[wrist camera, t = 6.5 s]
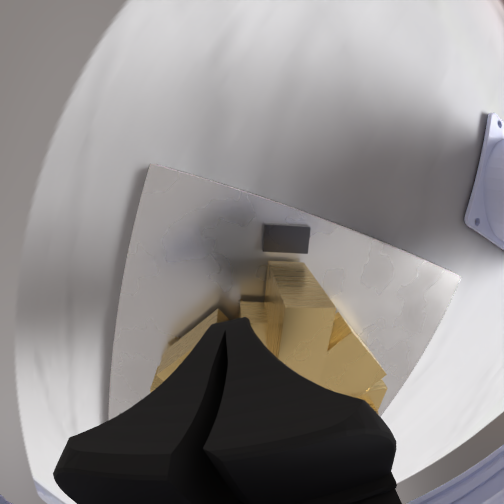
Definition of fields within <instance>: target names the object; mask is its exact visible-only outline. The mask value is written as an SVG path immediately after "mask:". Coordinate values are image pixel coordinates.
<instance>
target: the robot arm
mask: <svg viewBox="0 0 504 504" xmlns="http://www.w3.org/2000/svg"><path fill="white" fill-rule="evenodd" d="M464 219H465V224H466V225H467V226H468V227H470V228H472V229H473V230H475V231H476V232H478V233H479V234H481V235H482V236H484V237H485V238H487V239H488V240H490V241H491V242H493V243H494V244H495V245H497V246H498V247H500V248H501V249H502V250H504V122H503V121H502V120H501V119H500V118H499V117H498V116H497V115H496V114H495V113H489V114H488V119H487V125H486V132H485V137H484V143H483V148H482V153H481V157H480V162H479V166H478V171H477V175H476V179H475V183H474V186H473V190H472V194H471V197H470V201H469V204H468V207H467V210H466V214H465V218H464ZM475 220H476V223H475ZM395 452H396V440H395V438H394V436H393V434H392V432H391V431H390V429H389V428H388V426H387V425H386V424H385V422H384V421H383V420H382V419H381V417H380V416H379V415H378V414H377V413H376V411H375V410H374V409H373V408H372V407H371V406H370V405H369V404H368V403H367V402H366V401H365V400H363V399H359V398H355V397H352V396H348V395H344V394H341V393H337V392H334V391H331V390H329V389H327V388H324V387H322V386H320V385H318V384H316V383H314V382H312V381H310V380H308V379H307V378H305V377H303V376H301V375H299V374H298V373H297V372H295V371H294V370H292V369H291V368H289V367H288V366H287V365H285V364H284V363H283V362H282V361H280V360H279V359H278V358H277V357H276V356H275V355H274V354H273V353H272V352H271V351H270V350H269V349H268V348H267V347H266V346H265V345H264V344H263V343H262V341H261V340H260V339H259V338H258V336H257V335H256V334H255V332H254V330H253V329H252V327H251V324H250V320H249V319H248V318H247V317H242V318H238V319H233V320H229V321H224V322H220V323H215V324H211V325H210V327H209V328H208V329H207V331H206V332H205V333H204V335H203V336H202V338H201V339H200V340H199V342H198V343H197V344H196V346H195V347H194V348H193V350H192V351H191V352H190V353H189V355H188V356H187V357H186V358H185V359H184V360H183V362H182V363H181V364H180V365H179V366H178V367H177V369H176V370H175V371H174V372H173V373H172V374H171V375H170V376H169V377H168V378H167V379H166V380H165V381H164V382H163V383H162V384H160V385H159V386H158V387H157V388H156V389H155V390H154V391H152V392H151V393H150V394H148V395H147V396H146V397H144V398H143V399H142V400H140V401H139V402H138V403H136V404H135V405H134V406H132V407H131V408H129V409H128V410H126V411H124V412H123V413H121V414H119V415H118V416H116V417H114V418H112V419H111V420H109V421H107V422H105V423H103V424H101V425H99V426H97V427H94V428H92V429H90V430H87V431H85V432H83V433H80V434H78V435H75V436H72V437H70V438H69V440H68V442H67V444H66V446H65V448H64V450H63V453H62V455H61V457H60V459H59V461H58V463H57V466H56V468H55V470H54V472H53V475H54V479H55V481H56V483H57V484H58V486H59V487H60V489H61V490H62V491H63V492H64V493H65V494H66V495H67V496H69V497H70V498H71V499H72V500H73V501H75V502H76V503H77V504H402V503H401V501H400V499H399V496H398V494H397V492H396V490H395V488H396V486H397V485H396V481H395V479H394V477H393V475H392V472H391V469H392V465H393V461H394V457H395ZM0 504H12V503H10V502H8V501H6V499H5V498H4V497H3V496H2V495H1V494H0ZM405 504H504V445H502V446H501V447H500V448H498V449H497V450H496V451H494V452H493V453H492V454H490V455H489V456H488V457H486V458H485V459H483V460H482V461H480V462H479V463H477V464H476V465H474V466H473V467H471V468H470V469H468V470H467V471H465V472H464V473H462V474H460V475H459V476H457V477H455V478H454V479H452V480H450V481H449V482H447V483H445V484H443V485H441V486H440V487H438V488H436V489H434V490H432V491H430V492H428V493H426V494H424V495H422V496H420V497H418V498H416V499H414V500H412V501H410V502H408V503H405Z"/></svg>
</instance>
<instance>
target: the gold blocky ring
mask: <svg viewBox="0 0 504 504" xmlns="http://www.w3.org/2000/svg"><path fill="white" fill-rule="evenodd" d="M335 313H336V307H335V305H334V304H333V302H332V301H331V300H330V298H329V297H328V295H327V294H326V293H325V291H324V290H323V288H322V287H321V286H320V284H319V283H318V281H317V280H316V279H315V277H314V276H313V274H312V273H311V272H310V270H309V269H308V268H307V266H306V265H305V263H302V262H283V261H268V269H267V280H266V290H265V300H264V302H244V301H240V313H239V318H242V317H247V318H248V319H249V320H250V324H251V327H252V329H253V330H254V332H255V334H256V335H257V336H258V338H259V339H260V340H261V341H262V343H263V344H264V345H265V346H266V347H267V348H268V349H269V350H270V351H271V352H272V353H273V354H274V355H275V356H276V357H277V358H278V359H279V360H280V361H282V362H283V363H284V364H285V365H287V366H288V367H289V368H291V369H292V370H294V371H295V372H297V373H298V374H299V375H301V376H303V377H305V378H307V379H308V380H310V381H312V382H314V383H316V384H318V385H320V386H322V387H324V388H327V389H329V390H331V391H334V392H337V393H341V394H344V395H348V396H352V397H355V398H359V399H363V400H365V401H366V402H367V403H368V404H369V405H370V406H371V407H372V408H373V409H374V410H375V411H376V413H377V414H379V413H378V409H379V407H380V405H381V403H382V400H383V398H384V396H385V393H386V391H387V389H388V388H387V386H386V385H385V383H384V382H383V380H382V378H383V377H384V376H386V375H387V374H386V373H385V371H384V370H383V368H382V367H381V365H380V364H379V362H378V361H377V359H376V358H375V357H374V355H373V354H372V352H371V351H370V350H369V349H368V347H367V346H366V345H365V344H364V343H363V341H362V340H361V339H360V338H359V336H358V335H357V334H356V333H355V331H354V330H353V329H352V328H351V326H350V325H349V324H348V323H347V322H346V320H345V319H344V318H343V317H342V316H341V314H340V313H339V312H337V313H336V314H335ZM229 320H230V319H229V318H228V317H226V316H225V315H224V314H223V313H222V312H221V311H220V310H219V309H217V310H215V311H214V312H213V313H212V314H210V315H209V316H208V317H207V318H205V319H204V320H203V321H202V322H201V323H199V324H198V325H197V326H196V327H194V328H193V329H192V330H191V331H189V332H188V333H187V334H186V335H184V336H183V337H182V338H180V339H179V340H178V341H177V342H175V343H174V344H173V345H172V346H170V347H169V348H168V349H167V350H165V351H164V354H163V357H162V360H161V362H160V365H159V366H158V367H157V370H156V373H155V376H154V379H153V382H152V385H151V388H150V393H151V392H152V391H154V390H155V389H156V388H157V387H158V386H159V385H160V384H162V383H163V382H164V381H165V380H166V379H167V378H168V377H169V376H170V375H171V374H172V373H173V372H174V371H175V370H176V369H177V367H178V366H179V365H180V364H181V363H182V362H183V360H184V359H185V358H186V357H187V356H188V355H189V353H190V352H191V351H192V350H193V348H194V347H195V346H196V344H197V343H198V342H199V340H200V339H201V338H202V336H203V335H204V333H205V332H206V331H207V329H208V328H209V327H210V325H211V324H215V323H220V322H224V321H229Z"/></svg>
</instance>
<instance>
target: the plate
mask: <svg viewBox="0 0 504 504" xmlns="http://www.w3.org/2000/svg"><path fill="white" fill-rule="evenodd" d="M268 261H283V262H302V263H305V265H306V266H307V268H308V269H309V270H310V272H311V273H312V274H313V276H314V277H315V279H316V280H317V281H318V283H319V284H320V286H321V287H322V288H323V290H324V291H325V293H326V294H327V295H328V297H329V298H330V300H331V301H332V302H333V304H334V305H335V307H336V313H337V312H339V313H340V314H341V316H342V317H343V318H344V319H345V320H346V322H347V323H348V324H349V325H350V326H351V328H352V329H353V330H354V331H355V333H356V334H357V335H358V336H359V338H360V339H361V340H362V341H363V343H364V344H365V345H366V346H367V347H368V349H369V350H370V351H371V352H372V354H373V355H374V357H375V358H376V359H377V361H378V362H379V364H380V365H381V367H382V368H383V370H384V371H385V373H386V374H387V375H386V376H384V377H383V378H382V380H383V382H384V383H385V385H386V386H387V388H388V389H387V391H386V393H385V396H384V398H383V400H382V403H381V405H380V407H379V409H378V413H379V414H378V415H379V416H381V415H382V414H383V413H384V411H385V410H386V409H387V407H388V406H389V404H390V403H391V402H392V400H393V399H394V397H395V396H396V395H397V393H398V392H399V390H400V389H401V387H402V386H403V384H404V383H405V381H406V380H407V378H408V377H409V375H410V374H411V372H412V371H413V369H414V367H415V366H416V364H417V363H418V361H419V359H420V358H421V356H422V354H423V353H424V351H425V349H426V348H427V346H428V344H429V342H430V341H431V339H432V337H433V335H434V333H435V331H436V330H437V328H438V326H439V324H440V322H441V320H442V318H443V316H444V314H445V312H446V310H447V308H448V306H449V304H450V302H451V300H452V298H453V296H454V293H455V291H456V289H457V287H458V284H459V282H460V280H461V278H462V277H461V276H459V275H457V274H456V273H454V272H452V271H450V270H448V269H445V268H443V267H441V266H439V265H436V264H434V263H432V262H430V261H427V260H425V259H423V258H421V257H418V256H416V255H414V254H411V253H409V252H407V251H404V250H402V249H399V248H397V247H395V246H392V245H390V244H387V243H385V242H382V241H380V240H377V239H375V238H373V237H370V236H368V235H365V234H362V233H360V232H357V231H355V230H352V229H350V228H347V227H344V226H342V225H339V224H337V223H334V222H331V221H329V220H326V219H323V218H321V217H318V216H315V215H312V214H310V213H307V212H304V211H301V210H299V209H296V208H293V207H290V206H287V205H284V204H282V203H279V202H276V201H273V200H270V199H267V198H264V197H261V196H258V195H255V194H252V193H249V192H246V191H243V190H240V189H237V188H234V187H231V186H228V185H224V184H221V183H218V182H215V181H212V180H208V179H205V178H202V177H199V176H195V175H192V174H189V173H185V172H182V171H178V170H175V169H172V168H168V167H165V166H161V165H158V164H150V166H149V170H148V173H147V176H146V180H145V183H144V187H143V191H142V194H141V198H140V202H139V206H138V210H137V214H136V218H135V222H134V226H133V231H132V235H131V239H130V244H129V249H128V254H127V259H126V264H125V269H124V274H123V280H122V286H121V292H120V298H119V304H118V311H117V318H116V326H115V334H114V342H113V352H112V363H111V375H110V390H109V414H108V421H109V420H111V419H112V418H114V417H116V416H118V415H119V414H121V413H123V412H124V411H126V410H128V409H129V408H131V407H132V406H134V405H135V404H136V403H138V402H139V401H140V400H142V399H143V398H144V397H146V396H147V395H148V394H150V388H151V385H152V382H153V379H154V376H155V373H156V370H157V367H158V366H159V365H160V362H161V360H162V357H163V354H164V351H165V350H167V349H168V348H169V347H170V346H172V345H173V344H174V343H175V342H177V341H178V340H179V339H180V338H182V337H183V336H184V335H186V334H187V333H188V332H189V331H191V330H192V329H193V328H194V327H196V326H197V325H198V324H199V323H201V322H202V321H203V320H204V319H205V318H207V317H208V316H209V315H210V314H212V313H213V312H214V311H215V310H217V309H219V310H220V311H221V312H222V313H223V314H224V315H225V316H226V317H228V318H229V319H230V320H233V319H238V318H239V313H240V301H244V302H264V300H265V290H266V280H267V269H268ZM336 313H335V314H336Z"/></svg>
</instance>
